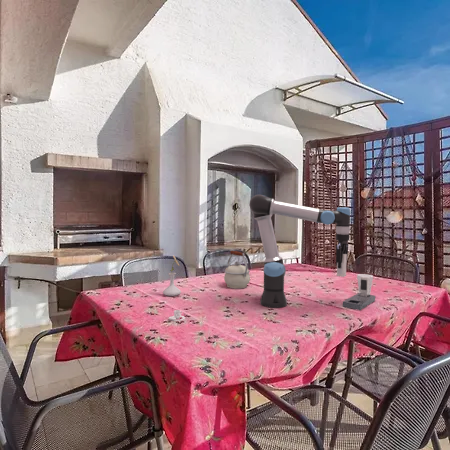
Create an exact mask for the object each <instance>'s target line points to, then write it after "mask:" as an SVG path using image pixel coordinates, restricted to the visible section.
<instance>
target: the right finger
mask: <svg viewBox="0 0 450 450" xmlns="http://www.w3.org/2000/svg"><path fill="white" fill-rule="evenodd" d="M342 263H343V270H342V274H338V273H337V272H336V276H337V277H341V278H344V277H346V276H347V263H348V259H347V254H343V258H342ZM335 267H336V271H337V270H338V263H337V262H336V261H335Z"/></svg>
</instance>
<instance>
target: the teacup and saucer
mask: <svg viewBox="0 0 450 450" xmlns="http://www.w3.org/2000/svg"><path fill="white" fill-rule="evenodd" d="M182 313H183V311H181V310H180V309H175V310H173V316H169V317H168V320H170V321H174V322H177V321H178V322H180V321H183V320H185V319H186V317H185V316H184V315H182ZM180 318H181V319H180Z"/></svg>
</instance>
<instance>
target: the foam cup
mask: <svg viewBox="0 0 450 450" xmlns="http://www.w3.org/2000/svg"><path fill="white" fill-rule="evenodd" d="M361 277H369V278H370V285H369V295H371V292H372V284H373V280H374V275H372V274H367V273H359V274H356V279H357V287H358V293H360V285H361Z"/></svg>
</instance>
